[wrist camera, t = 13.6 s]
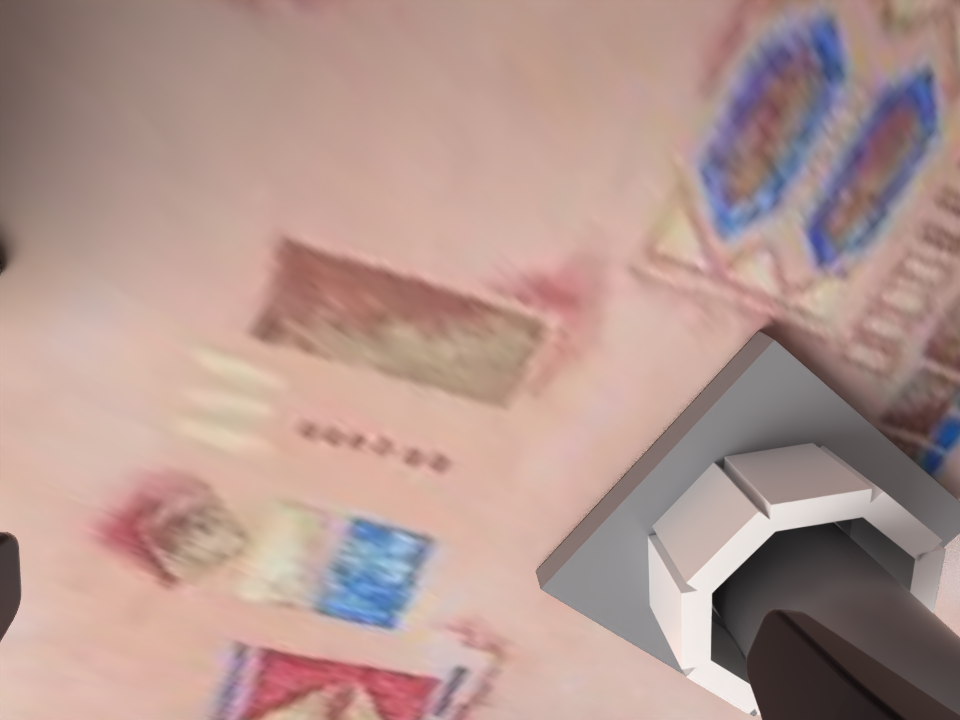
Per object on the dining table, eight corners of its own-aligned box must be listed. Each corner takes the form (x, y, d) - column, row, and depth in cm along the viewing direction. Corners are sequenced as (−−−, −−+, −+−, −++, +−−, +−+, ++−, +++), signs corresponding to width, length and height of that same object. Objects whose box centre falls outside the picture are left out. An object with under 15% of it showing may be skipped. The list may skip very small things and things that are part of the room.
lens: (717, 630, 24) (987, 1068, 13) (670, 530, 22) (938, 939, 11) (845, 570, 24) (1241, 969, 12) (808, 464, 22) (1235, 817, 10)
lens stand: (742, 696, 27) (795, 786, 23) (535, 571, 23) (558, 653, 20) (955, 502, 24) (1054, 569, 21) (758, 331, 21) (833, 373, 17)
